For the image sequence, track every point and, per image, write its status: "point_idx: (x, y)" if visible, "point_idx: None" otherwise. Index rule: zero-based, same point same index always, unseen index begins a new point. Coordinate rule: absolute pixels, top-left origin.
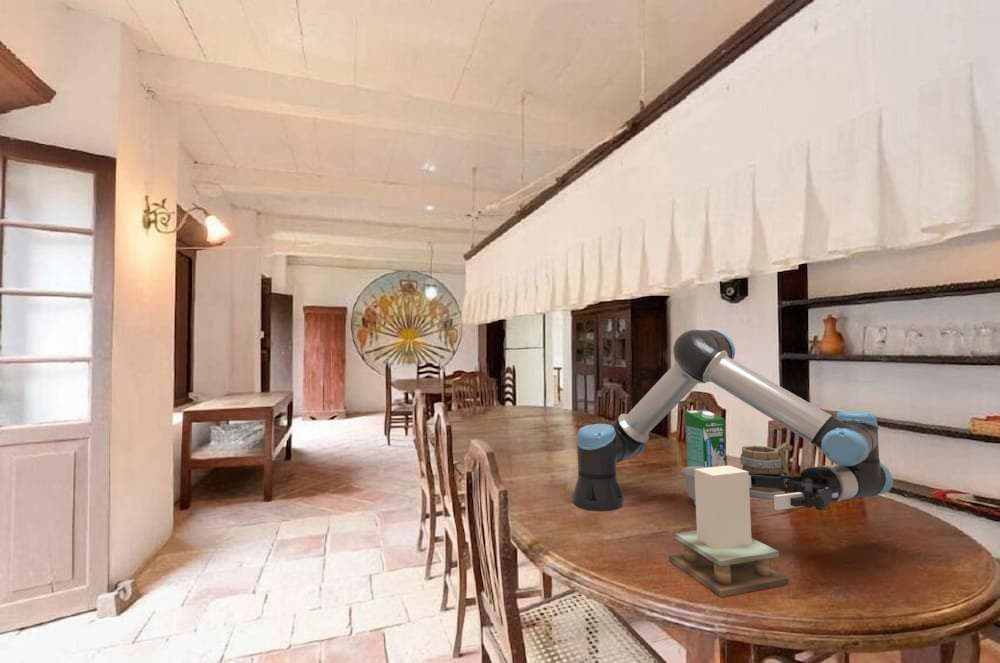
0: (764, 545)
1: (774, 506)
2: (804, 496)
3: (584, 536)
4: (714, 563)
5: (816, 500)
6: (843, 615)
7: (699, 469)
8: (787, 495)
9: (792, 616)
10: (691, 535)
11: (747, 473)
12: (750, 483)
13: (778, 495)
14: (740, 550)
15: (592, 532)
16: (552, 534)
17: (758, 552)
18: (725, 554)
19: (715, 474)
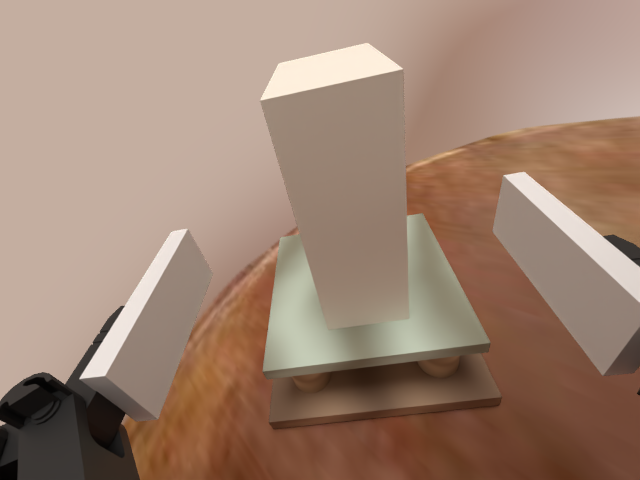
0: (308, 358)
1: (208, 266)
2: (86, 403)
3: (536, 174)
4: None
5: (3, 427)
6: (135, 444)
7: (357, 47)
8: (146, 277)
9: (197, 342)
10: (407, 234)
11: (262, 108)
12: (609, 346)
13: (173, 242)
14: (304, 286)
15: (564, 182)
16: (534, 148)
17: (280, 316)
18: (298, 253)
19: (284, 64)
